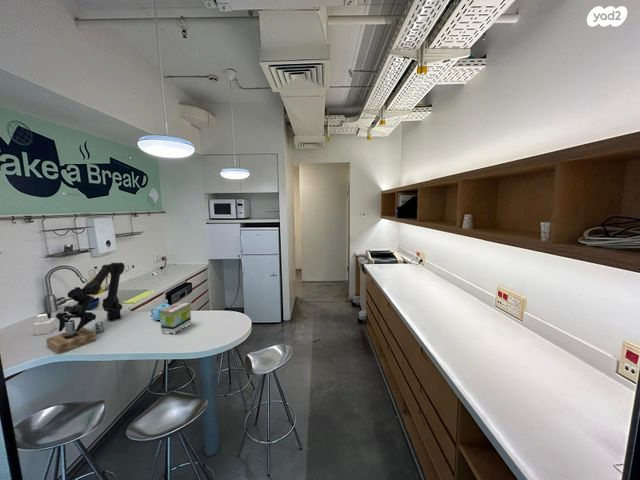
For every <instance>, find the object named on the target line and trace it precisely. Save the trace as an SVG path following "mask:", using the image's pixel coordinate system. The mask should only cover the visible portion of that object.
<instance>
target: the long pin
mask: <svg viewBox="0 0 640 480" xmlns="http://www.w3.org/2000/svg"><path fill="white" fill-rule="evenodd" d="M75 323H76V321H75V320H74V319H70V320H68V321H66V322H65V327H64V330H65V333H66V337H67V339H69V338H72V337H75V336H76V330H75V329H76V325H75Z"/></svg>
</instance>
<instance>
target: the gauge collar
mask: <svg viewBox="0 0 640 480" xmlns="http://www.w3.org/2000/svg"><path fill="white" fill-rule="evenodd" d="M76 329H77V328H75V330H76ZM95 341H97V339H96V332H93V331H91V330H90V329H87V328H86V327H85V326H84V327H82V328H81V329H80V330H79V331H76V336H75V337H72V338H69V339H67V337H66V332H63V333H60V334H57V335H53V336H50V337H47V338H46V346H47V348H49V349H51V350H52V351H53V352H55V353H56V354H58V355H60V354H62V353H63V354H64V353H65V352H68V351H71V350H75V349H77V348H79V347H82V346H85V345H88V344H91V343H93V342H95Z"/></svg>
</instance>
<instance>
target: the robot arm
mask: <svg viewBox="0 0 640 480" xmlns="http://www.w3.org/2000/svg"><path fill="white" fill-rule="evenodd" d="M124 270H125V264H124V263H123V262H111V263H110V264H102V266H101V269H100V270H99V271H98V272H97V273H96V275H95V276H94V278H93V279H92V280H91V281H89V282H88V283H86V284H85V285H84V286H83V287H82V288H81V287H79V286H75V287H74V288H73V289H71V290H69V291H68V292H67V297H68V298H69V299H71V300H73V301H75V302H76V304H73V305H65V306H64V308H63V311H62V312H57V313H56V315H55V317H54V318H55V319H57V320H58V321H59V325H58V332H60V333H61V332H62V331H64V330H65V322H66V321H70V320H72V319H80V321H79V323H78V325H77V327H76V328H75V329H76V331H79V330H80V329H81V328H82V327H84V328H85V326H86V325H88V324H89V323H91V322H93V321H95V320H96V318H97V315H96V314H95V313H93V312H89V311H88V310H89V309H90V307H89V306H90V304H91V302H93V301H96V298H95V297H94V296H95V295H97V294H99V292H100V291H101V289H102V283H103V282H104V280H106V278H107V276H108V275H109V274H110V277H109V278H110V280H109V286H108V290H107V291H108V293H107V297H106V298H103V299H102V304H101V306H102V309H103V311H104V312H106V320H108V321H110V322H112V321H115V320H119V319H122V318H123V317H122V316H121V311H122V309H123V304H121V303H120V300H119V297H118V291H119V282H120V277H121V275H122V274H123V272H124ZM87 311H88V312H87Z"/></svg>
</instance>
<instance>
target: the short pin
mask: <svg viewBox="0 0 640 480" xmlns="http://www.w3.org/2000/svg"><path fill="white" fill-rule="evenodd" d="M94 326H95V335H96V334H99V335H100V334H103V333H105V324H104V321H98V322H95V323H94Z"/></svg>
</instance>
